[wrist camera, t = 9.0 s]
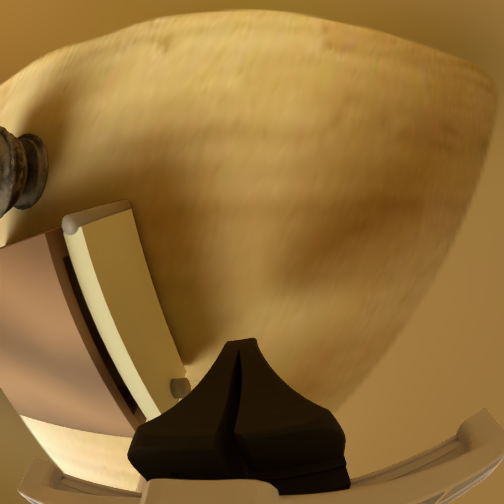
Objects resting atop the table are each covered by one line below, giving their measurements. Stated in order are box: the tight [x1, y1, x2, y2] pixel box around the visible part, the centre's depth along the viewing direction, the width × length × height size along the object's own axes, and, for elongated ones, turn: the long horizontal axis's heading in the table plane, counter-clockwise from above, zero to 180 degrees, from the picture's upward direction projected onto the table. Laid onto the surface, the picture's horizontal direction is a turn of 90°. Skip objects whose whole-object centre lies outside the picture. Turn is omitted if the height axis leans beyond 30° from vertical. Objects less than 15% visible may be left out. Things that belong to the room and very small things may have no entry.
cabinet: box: [0, 225, 147, 438], centre depth 13 cm, size 11×11×6 cm
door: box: [62, 200, 191, 421], centre depth 13 cm, size 11×2×6 cm, turn 11°
